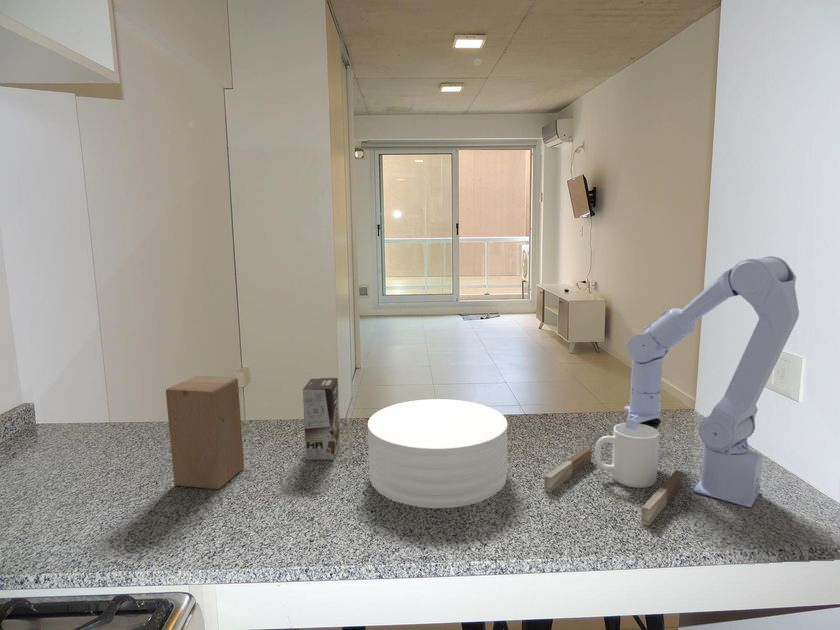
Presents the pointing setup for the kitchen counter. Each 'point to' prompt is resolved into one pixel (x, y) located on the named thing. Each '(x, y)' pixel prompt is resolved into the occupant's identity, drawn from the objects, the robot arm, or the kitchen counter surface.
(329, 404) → the coffee box
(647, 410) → the robot arm
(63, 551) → the kitchen counter surface
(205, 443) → the wooden block
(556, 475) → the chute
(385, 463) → the plate stack
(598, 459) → the cup
